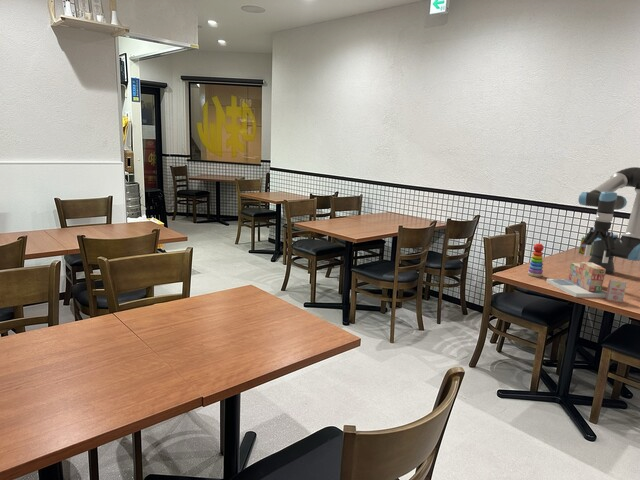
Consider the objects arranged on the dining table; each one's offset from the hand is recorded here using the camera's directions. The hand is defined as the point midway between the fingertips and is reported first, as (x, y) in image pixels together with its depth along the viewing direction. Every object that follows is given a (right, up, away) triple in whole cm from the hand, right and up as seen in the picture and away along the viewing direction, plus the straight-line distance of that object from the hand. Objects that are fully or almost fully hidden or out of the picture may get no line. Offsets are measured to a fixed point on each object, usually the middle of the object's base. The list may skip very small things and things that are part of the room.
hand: (595, 259), depth 240 cm
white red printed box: (-5, -19, -22) cm, 30 cm away
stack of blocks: (-10, -13, -7) cm, 18 cm away
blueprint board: (-15, -15, -7) cm, 23 cm away
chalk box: (+45, +1, +84) cm, 95 cm away
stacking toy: (-25, -10, +16) cm, 31 cm away
